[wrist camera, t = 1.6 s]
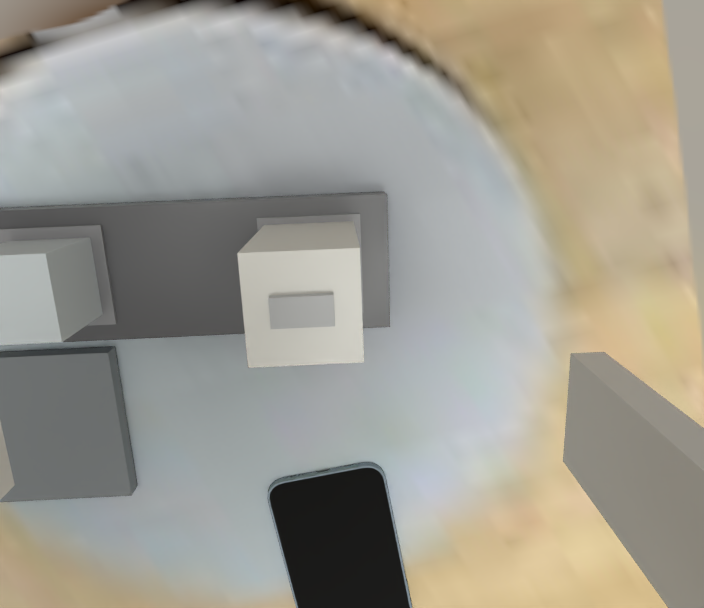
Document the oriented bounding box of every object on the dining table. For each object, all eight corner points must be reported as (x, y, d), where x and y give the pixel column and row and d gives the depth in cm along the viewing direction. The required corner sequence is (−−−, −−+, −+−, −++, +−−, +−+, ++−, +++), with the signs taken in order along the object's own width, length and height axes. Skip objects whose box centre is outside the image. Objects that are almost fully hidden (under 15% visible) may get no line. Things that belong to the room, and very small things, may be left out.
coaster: (-12, 493, 34) (-22, 503, 33) (-46, 354, 32) (-58, 360, 31) (137, 485, 34) (131, 495, 33) (114, 346, 32) (108, 352, 31)
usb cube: (25, 317, 29) (-29, 346, 25) (9, 241, 28) (-50, 257, 24) (102, 313, 29) (62, 342, 25) (90, 237, 28) (45, 253, 24)
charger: (271, 310, 29) (246, 371, 21) (264, 225, 28) (235, 255, 20) (356, 307, 30) (364, 366, 21) (353, 221, 28) (360, 249, 20)
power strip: (-77, 338, 31) (-107, 352, 29) (-109, 212, 30) (-144, 217, 27) (387, 317, 32) (390, 329, 30) (384, 191, 30) (387, 194, 28)
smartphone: (383, 462, 34) (422, 658, 38) (382, 454, 35) (420, 646, 39) (262, 485, 34) (314, 678, 38) (264, 476, 35) (314, 666, 39)
